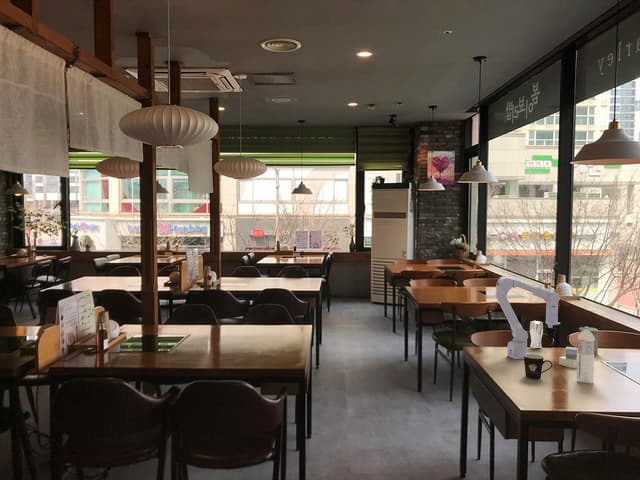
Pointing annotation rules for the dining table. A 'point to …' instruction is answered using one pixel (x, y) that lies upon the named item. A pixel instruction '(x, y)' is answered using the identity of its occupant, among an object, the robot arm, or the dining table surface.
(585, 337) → the water bottle
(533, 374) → the coffee mug
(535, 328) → the beer glass
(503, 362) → the dining table surface
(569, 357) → the blue cube
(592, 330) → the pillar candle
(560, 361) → the cream block
